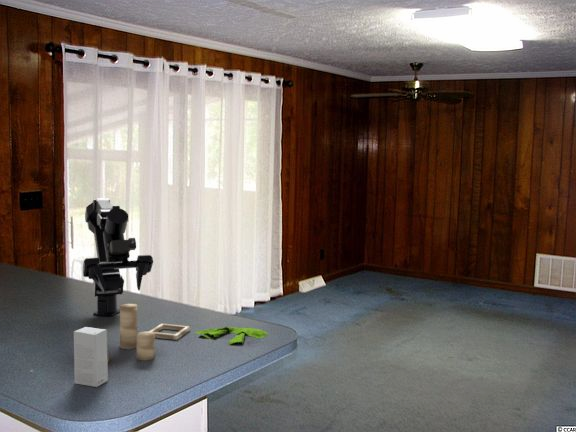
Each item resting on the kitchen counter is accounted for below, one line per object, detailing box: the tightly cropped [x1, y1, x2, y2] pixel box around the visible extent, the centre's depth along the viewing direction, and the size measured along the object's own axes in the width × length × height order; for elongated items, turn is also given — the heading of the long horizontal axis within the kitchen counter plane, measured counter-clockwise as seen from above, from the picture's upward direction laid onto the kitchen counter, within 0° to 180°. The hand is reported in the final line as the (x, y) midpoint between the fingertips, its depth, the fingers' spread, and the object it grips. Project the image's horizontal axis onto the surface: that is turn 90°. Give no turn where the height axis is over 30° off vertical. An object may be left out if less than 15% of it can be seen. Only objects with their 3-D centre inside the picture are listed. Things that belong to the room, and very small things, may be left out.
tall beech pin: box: [119, 303, 138, 350], centre depth 154 cm, size 4×4×11 cm
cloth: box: [194, 326, 269, 346], centre depth 165 cm, size 20×22×2 cm
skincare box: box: [73, 326, 109, 388], centre depth 130 cm, size 6×4×12 cm
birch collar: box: [148, 323, 191, 341], centre depth 166 cm, size 9×9×1 cm
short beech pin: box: [136, 331, 156, 361], centre depth 147 cm, size 4×4×6 cm
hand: (122, 290), depth 160 cm, fingers open, 9 cm apart
